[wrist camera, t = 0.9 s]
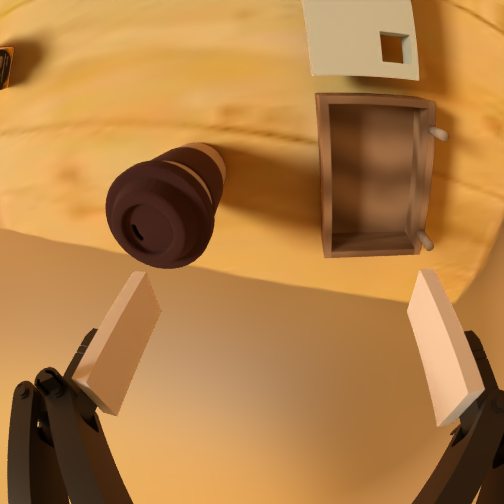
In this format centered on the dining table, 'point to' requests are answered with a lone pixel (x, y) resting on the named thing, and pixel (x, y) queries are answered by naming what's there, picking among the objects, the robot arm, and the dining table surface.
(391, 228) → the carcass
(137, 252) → the coffee cup
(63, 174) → the dining table surface
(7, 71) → the medicine bottle
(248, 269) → the dining table surface
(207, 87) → the dining table surface
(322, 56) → the door
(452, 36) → the dining table surface
